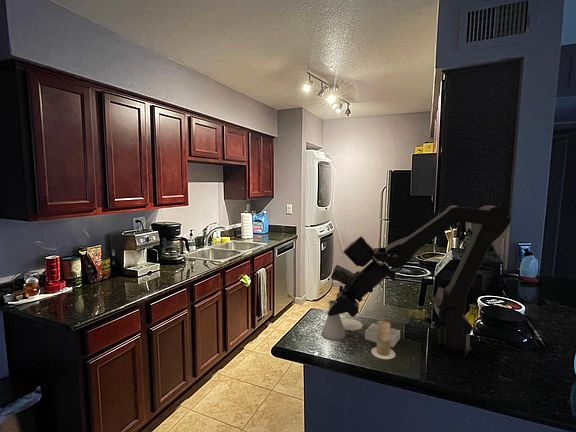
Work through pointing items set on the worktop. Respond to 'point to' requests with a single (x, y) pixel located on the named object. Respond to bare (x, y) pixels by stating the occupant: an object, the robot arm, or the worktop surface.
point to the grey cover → (372, 334)
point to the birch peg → (383, 338)
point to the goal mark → (351, 324)
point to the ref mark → (390, 356)
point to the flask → (333, 326)
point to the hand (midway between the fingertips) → (328, 312)
